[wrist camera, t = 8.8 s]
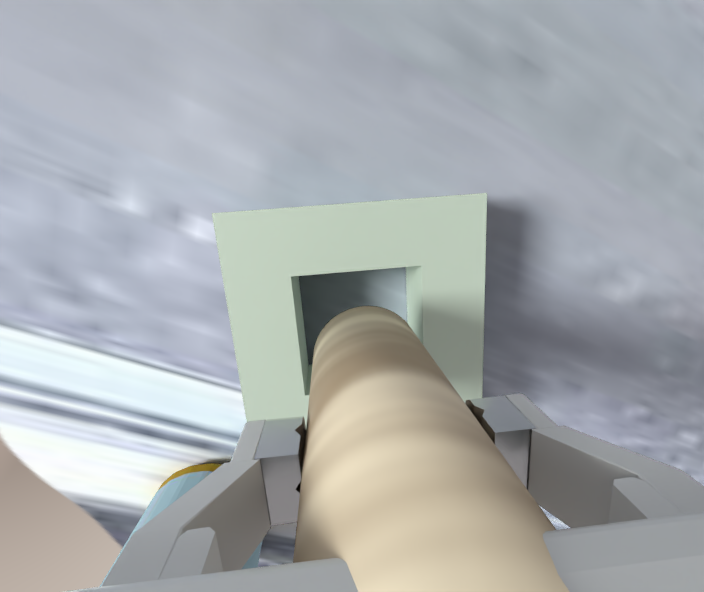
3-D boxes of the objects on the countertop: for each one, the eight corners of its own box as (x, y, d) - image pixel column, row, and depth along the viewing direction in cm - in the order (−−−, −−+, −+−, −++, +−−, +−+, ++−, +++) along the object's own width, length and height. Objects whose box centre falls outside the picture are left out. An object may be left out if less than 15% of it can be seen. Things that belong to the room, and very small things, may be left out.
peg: (308, 311, 14) (203, 846, 2) (417, 301, 14) (857, 740, 2) (318, 409, 15) (287, 1126, 3) (419, 398, 15) (734, 1034, 3)
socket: (233, 212, 18) (211, 213, 15) (458, 196, 19) (487, 192, 15) (264, 414, 21) (252, 454, 18) (457, 394, 22) (481, 429, 18)
